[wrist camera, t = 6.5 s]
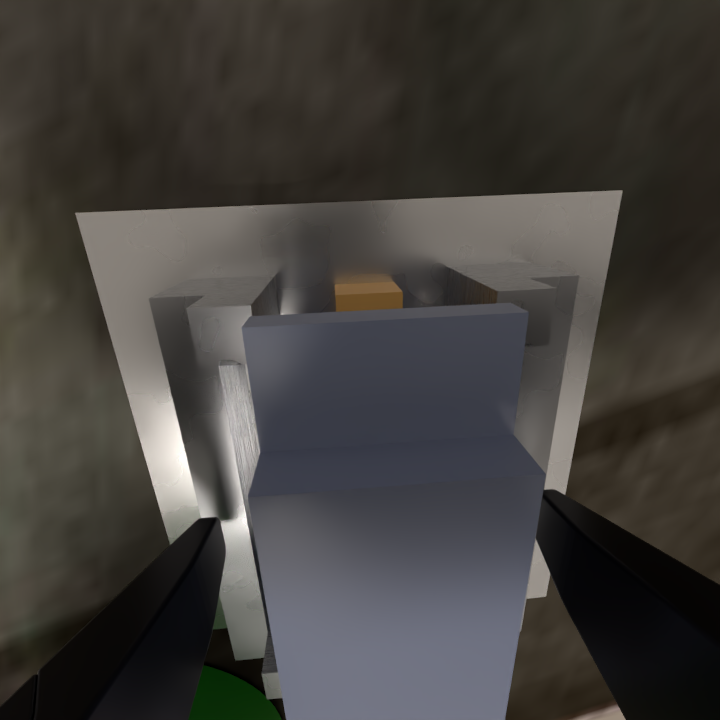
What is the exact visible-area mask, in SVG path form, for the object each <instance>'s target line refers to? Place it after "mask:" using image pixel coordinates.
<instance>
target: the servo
mask: <svg viewBox="0 0 720 720" xmlns="http://www.w3.org/2000/svg"><path fill="white" fill-rule="evenodd" d="M335 299H336V312H323V313H304V314H285V315H266V316H250V317H249V318H248V319H247V321H246V322H245V323H244V325H243V326H242V327H241V329H242V335H243V342H244V349H245V355H246V362H247V368H248V375H249V382H250V388H251V395H252V401H253V408H254V415H255V421H256V428H257V434H258V441H259V448H260V455H259V459H258V462H257V466H256V469H255V473H254V476H253V480H252V483H251V487H250V490H249V494H248V503H249V509H250V514H251V520H252V526H253V532H254V537H255V543H256V549H257V555H258V560H259V566H260V572H261V577H262V583H263V589H264V595H265V600H266V606H267V612H268V618H269V623H270V629H271V635H272V641H273V646H274V652H275V658H276V664H277V669H278V675H279V681H280V687H281V692H282V698H283V704H284V710H285V715H286V720H505V715H506V709H507V703H508V697H509V691H510V685H511V679H512V673H513V667H514V662H515V656H516V650H517V644H518V638H519V632H520V626H521V620H522V614H523V608H524V602H525V596H526V590H527V584H528V578H529V573H530V567H531V561H532V555H533V549H534V543H535V537H536V531H537V525H538V519H539V513H540V507H541V501H542V495H543V489H544V484H545V478H546V473H545V472H544V471H543V470H542V469H541V467H540V466H539V465H538V464H537V462H536V461H535V460H534V459H533V458H532V456H531V455H530V454H529V453H528V451H527V450H526V449H525V448H524V447H523V445H522V444H521V443H520V442H519V440H518V439H517V438H516V437H515V436H514V428H515V420H516V412H517V404H518V396H519V388H520V380H521V372H522V364H523V356H524V348H525V340H526V332H527V324H528V317H529V312H528V311H526V310H524V309H522V308H520V307H518V306H516V305H514V304H512V303H496V304H477V305H458V306H439V307H420V308H403V291H402V290H401V289H400V288H399V287H398V286H397V285H396V284H395V282H379V283H358V284H337V285H335Z"/></svg>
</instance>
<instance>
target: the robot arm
mask: <svg viewBox="0 0 720 720" xmlns="http://www.w3.org/2000/svg"><path fill="white" fill-rule="evenodd" d="M535 538H536V541H537V543H538V545H539V548H540V550H541V553H542V555H543V557H544V560H545V562H546V564H547V567H548V569H549V572H550V574H551V576H552V579H553V581H554V584H555V586H556V588H557V590H558V593H559V595H560V597H561V599H562V601H563V603H564V605H565V607H566V609H567V611H568V613H569V615H570V617H571V619H572V620H573V622H574V624H575V626H576V628H577V630H578V632H579V633H580V635H581V637H582V639H583V641H584V643H585V645H586V646H587V648H588V650H589V652H590V654H591V656H592V658H593V659H594V661H595V663H596V665H597V667H598V669H599V671H600V673H601V674H602V676H603V678H604V680H605V682H606V684H607V686H608V687H609V689H610V691H611V693H612V695H613V697H614V699H615V700H616V702H617V704H618V706H619V708H620V710H621V712H622V713H623V715H624V717H625V719H626V720H720V585H719V584H717V583H716V582H714V581H712V580H711V579H709V578H707V577H705V576H704V575H702V574H700V573H698V572H697V571H695V570H693V569H692V568H690V567H688V566H686V565H685V564H683V563H681V562H680V561H678V560H676V559H674V558H673V557H671V556H669V555H667V554H666V553H664V552H662V551H661V550H659V549H657V548H655V547H654V546H652V545H650V544H649V543H647V542H645V541H643V540H642V539H640V538H638V537H636V536H635V535H633V534H631V533H630V532H628V531H626V530H624V529H623V528H621V527H619V526H618V525H616V524H614V523H612V522H611V521H609V520H607V519H605V518H604V517H602V516H600V515H599V514H597V513H595V512H593V511H592V510H590V509H588V508H587V507H585V506H583V505H581V504H580V503H578V502H576V501H574V500H573V499H571V498H569V497H568V496H566V495H564V494H562V493H561V492H559V491H557V490H555V489H546V490H543V495H542V501H541V507H540V513H539V519H538V525H537V531H536V537H535ZM225 557H226V544H225V540H224V535H223V530H222V526H221V522H220V519H219V518H218V517H205V518H199V519H198V520H196V521H195V522H194V523H193V524H192V525H191V526H190V527H189V528H188V529H187V530H186V531H184V532H183V533H182V534H181V535H180V536H179V537H178V538H177V539H176V540H175V541H174V542H173V543H172V544H171V545H170V546H169V547H168V548H167V549H165V550H164V551H163V552H162V553H161V554H160V555H159V556H158V557H157V558H156V559H155V560H154V561H153V562H152V563H151V564H150V565H149V566H148V567H147V568H145V569H144V570H143V571H142V572H141V573H140V574H139V575H138V576H137V577H136V578H135V579H134V580H133V581H132V582H131V583H130V584H129V585H128V586H126V587H125V588H124V589H123V590H122V591H121V592H120V593H119V594H118V595H117V596H116V597H115V598H114V599H113V600H112V601H111V602H110V603H109V604H108V605H106V606H105V607H104V608H103V609H102V610H101V611H100V612H99V613H98V614H97V615H96V616H95V617H94V618H93V619H92V620H91V621H90V622H89V623H87V624H86V625H85V626H84V627H83V628H82V629H81V630H80V631H79V632H78V633H77V634H76V635H75V636H74V637H73V638H72V639H71V640H70V641H69V642H67V643H66V644H65V645H64V646H63V647H62V648H61V649H60V650H59V651H58V652H57V653H56V654H55V655H54V656H53V657H52V658H51V659H50V660H48V661H47V662H46V663H45V664H44V665H43V666H42V667H41V668H40V669H39V671H38V675H36V674H35V675H33V676H31V677H30V678H29V679H28V680H27V681H26V682H25V683H24V684H23V685H22V686H21V687H20V688H19V689H18V690H17V691H16V692H15V693H13V694H12V695H11V696H10V697H9V698H8V699H7V700H6V701H5V702H4V703H3V704H2V705H1V706H0V720H188V719H189V715H190V711H191V708H192V704H193V701H194V697H195V694H196V690H197V686H198V683H199V679H200V676H201V672H202V669H203V665H204V661H205V658H206V654H207V651H208V647H209V643H210V639H211V635H212V631H213V626H214V621H215V615H216V609H217V604H218V598H219V592H220V586H221V581H222V575H223V569H224V563H225Z"/></svg>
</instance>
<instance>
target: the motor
mask: <svg viewBox="0 0 720 720" xmlns="http://www.w3.org/2000/svg"><path fill="white" fill-rule="evenodd" d="M188 720H281V717H280V715H279V713H278V711H277V710H276V708H275V707H274V705H273V704H272V703H271V702H270V701H269V699H267V698H266V696H265V695H263V694H262V693H261V692H260V691H259V690H257V689H256V688H255V687H253V686H252V685H250V684H248V683H247V682H245V681H243V680H241V679H240V678H238V677H235V676H233V675H231V674H229V673H226V672H224V671H221V670H218V669H215V668H212V667H208V666H205V665H203V669H202V672H201V676H200V679H199V683H198V686H197V690H196V694H195V697H194V701H193V704H192V708H191V711H190V715H189V719H188Z"/></svg>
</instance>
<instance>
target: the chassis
mask: <svg viewBox="0 0 720 720" xmlns="http://www.w3.org/2000/svg"><path fill="white" fill-rule="evenodd" d="M622 192H623V190H616V191H592V192H568V193H544V194H520V195H495V196H471V197H447V198H423V199H399V200H374V201H350V202H326V203H302V204H278V205H253V206H229V207H205V208H181V209H157V210H133V211H108V212H84V213H75V214H76V217H77V221H78V224H79V228H80V231H81V235H82V238H83V242H84V245H85V249H86V252H87V256H88V259H89V263H90V266H91V270H92V273H93V277H94V280H95V284H96V287H97V291H98V294H99V298H100V301H101V305H102V308H103V312H104V315H105V319H106V322H107V326H108V329H109V333H110V336H111V340H112V343H113V347H114V350H115V354H116V357H117V361H118V364H119V368H120V371H121V375H122V378H123V382H124V385H125V389H126V392H127V396H128V399H129V403H130V406H131V410H132V413H133V417H134V420H135V424H136V427H137V431H138V434H139V438H140V441H141V445H142V448H143V452H144V455H145V459H146V462H147V466H148V469H149V473H150V476H151V480H152V483H153V487H154V490H155V494H156V497H157V501H158V504H159V508H160V511H161V515H162V518H163V522H164V525H165V529H166V532H167V536H168V539H169V543H170V545H171V544H172V543H173V542H174V541H175V540H176V539H177V538H178V537H179V536H180V535H181V534H182V533H183V532H184V531H186V530H187V529H188V528H189V527H190V526H191V525H192V524H193V523H194V522H195V521H196V520H198V519H199V518H205V517H218V518H219V519H220V522H221V526H222V530H223V535H224V540H225V544H226V557H225V563H224V569H223V575H222V581H221V586H220V592H219V598H218V604H217V609H216V615H215V621H214V626H213V629H223V628H228V632H229V636H230V640H231V645H232V649H233V653H234V657H235V661H236V660H246V659H256V658H264V661H263V668H262V678H263V683H264V688H265V693H266V698H267V699H276V698H282V692H281V687H280V681H279V675H278V669H277V664H276V658H275V652H274V646H273V641H272V635H271V629H270V623H269V618H268V612H267V606H266V600H265V595H264V589H263V583H262V577H261V572H260V566H259V560H258V555H257V549H256V543H255V537H254V532H253V526H252V520H251V514H250V509H249V503H248V494H249V490H250V487H251V483H252V480H253V476H254V473H255V469H256V466H257V462H258V459H259V455H260V448H259V441H258V434H257V428H256V421H255V415H254V408H253V401H252V395H251V388H250V382H249V375H248V368H247V362H246V355H245V349H244V342H243V335H242V329H241V327H242V326H243V325H244V323H245V322H246V321H247V319H248V318H249V317H250V316H266V315H285V314H304V313H323V312H336V299H335V285H337V284H358V283H379V282H395V284H396V285H397V286H398V287H399V288H400V289H401V290H402V291H403V308H420V307H439V306H458V305H477V304H496V303H512V304H514V305H516V306H518V307H520V308H522V309H524V310H526V311H528V312H529V317H528V324H527V332H526V340H525V348H524V356H523V364H522V372H521V380H520V388H519V396H518V404H517V412H516V420H515V428H514V436H515V437H516V438H517V439H518V440H519V442H520V443H521V444H522V445H523V447H524V448H525V449H526V450H527V451H528V453H529V454H530V455H531V456H532V458H533V459H534V460H535V461H536V462H537V464H538V465H539V466H540V467H541V469H542V470H543V471H544V472H545V473H546V478H545V484H544V489H543V490H546V489H555V490H557V491H559V492H561V493H562V494H564V495H565V493H566V488H567V482H568V477H569V472H570V466H571V461H572V456H573V451H574V445H575V440H576V435H577V429H578V424H579V419H580V414H581V408H582V403H583V398H584V392H585V387H586V382H587V377H588V371H589V366H590V361H591V355H592V350H593V345H594V340H595V334H596V329H597V324H598V318H599V313H600V308H601V303H602V297H603V292H604V287H605V281H606V276H607V271H608V266H609V260H610V255H611V250H612V244H613V239H614V234H615V229H616V223H617V218H618V213H619V207H620V202H621V197H622ZM549 577H550V572H549V569H548V567H547V564H546V562H545V560H544V557H543V555H542V553H541V550H540V548H539V545H538V543H537V541H536V538H535V543H534V549H533V555H532V561H531V567H530V573H529V578H528V584H527V590H526V596H525V602H524V608H523V614H522V620H521V626H520V631H521V628H522V622H523V616H524V610H525V604H526V599H527V598H537V597H546V593H547V588H548V583H549Z"/></svg>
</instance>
